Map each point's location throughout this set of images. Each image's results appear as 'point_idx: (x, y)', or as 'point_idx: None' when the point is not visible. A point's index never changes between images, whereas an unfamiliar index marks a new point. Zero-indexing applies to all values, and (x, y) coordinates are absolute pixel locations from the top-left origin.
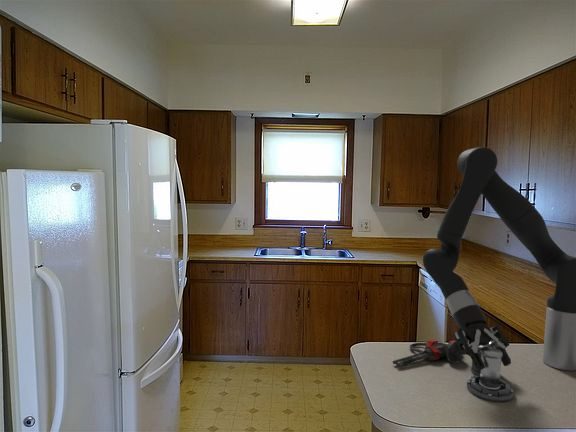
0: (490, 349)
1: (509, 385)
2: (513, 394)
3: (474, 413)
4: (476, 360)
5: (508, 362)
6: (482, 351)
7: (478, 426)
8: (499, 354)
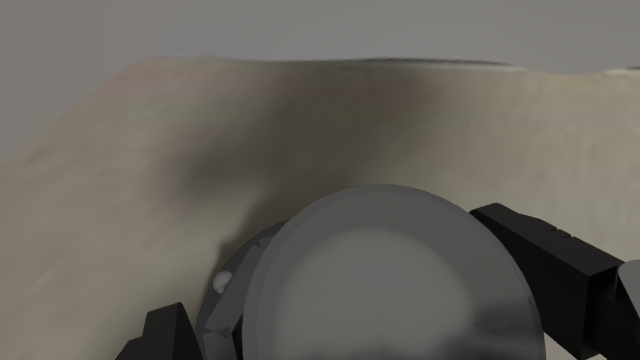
0: (404, 358)
1: (217, 308)
2: (229, 260)
3: (487, 137)
4: (570, 238)
5: (179, 312)
6: (534, 308)
7: (495, 65)
8: (336, 205)
